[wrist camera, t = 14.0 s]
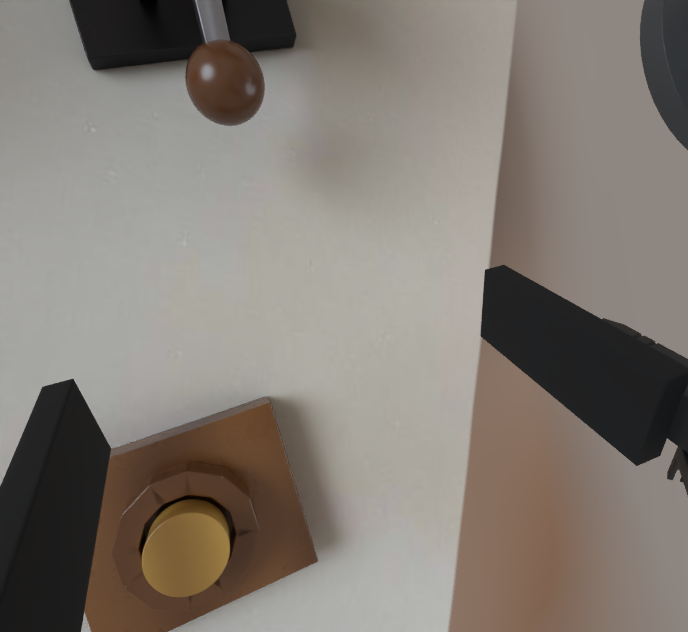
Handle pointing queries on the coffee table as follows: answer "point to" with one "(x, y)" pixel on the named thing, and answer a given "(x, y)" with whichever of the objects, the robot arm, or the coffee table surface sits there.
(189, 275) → the coffee table surface
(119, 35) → the black lever base
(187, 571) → the button
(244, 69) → the lever with brown knob
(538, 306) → the robot arm
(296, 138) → the coffee table surface
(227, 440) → the brown button base
